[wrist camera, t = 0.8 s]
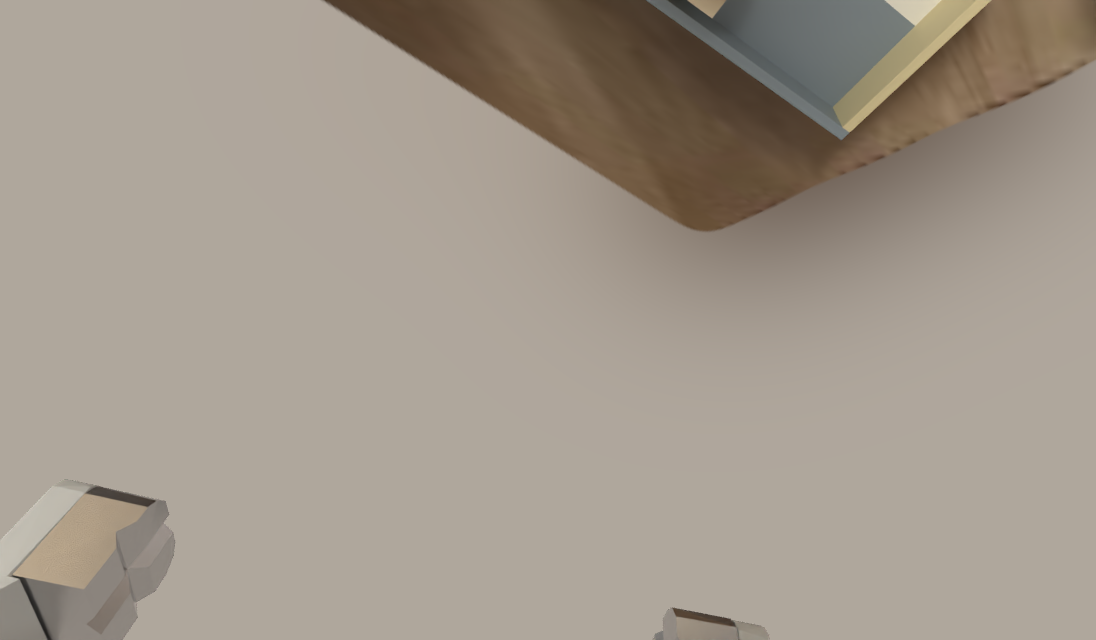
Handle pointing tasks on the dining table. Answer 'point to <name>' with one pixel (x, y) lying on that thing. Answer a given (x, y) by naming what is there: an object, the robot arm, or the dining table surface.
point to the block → (708, 6)
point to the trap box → (827, 47)
